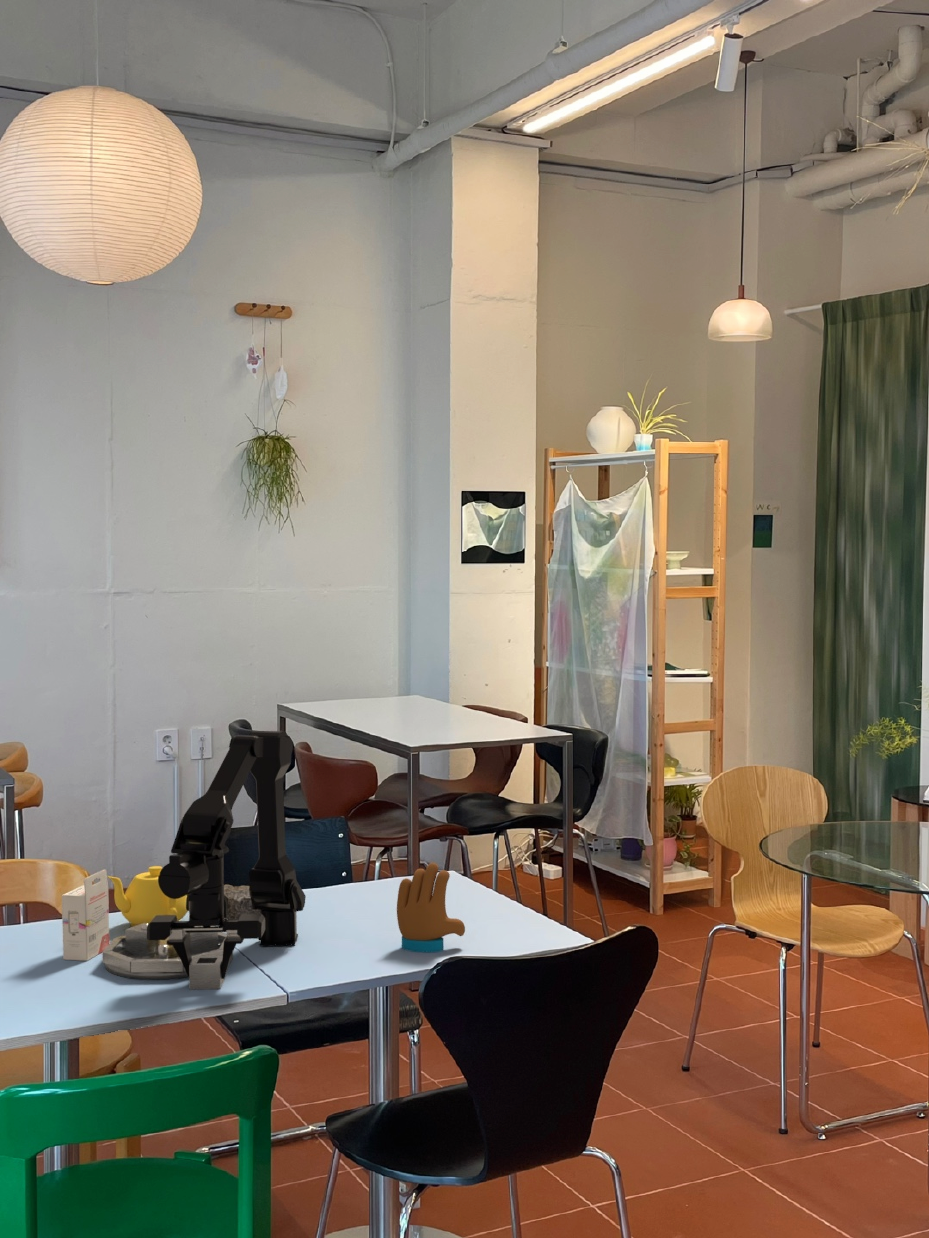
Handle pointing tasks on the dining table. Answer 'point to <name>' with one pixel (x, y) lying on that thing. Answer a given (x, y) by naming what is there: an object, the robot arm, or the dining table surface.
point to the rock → (238, 902)
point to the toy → (425, 911)
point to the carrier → (156, 954)
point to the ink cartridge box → (86, 919)
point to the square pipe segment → (206, 972)
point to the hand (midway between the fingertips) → (207, 978)
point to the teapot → (146, 899)
